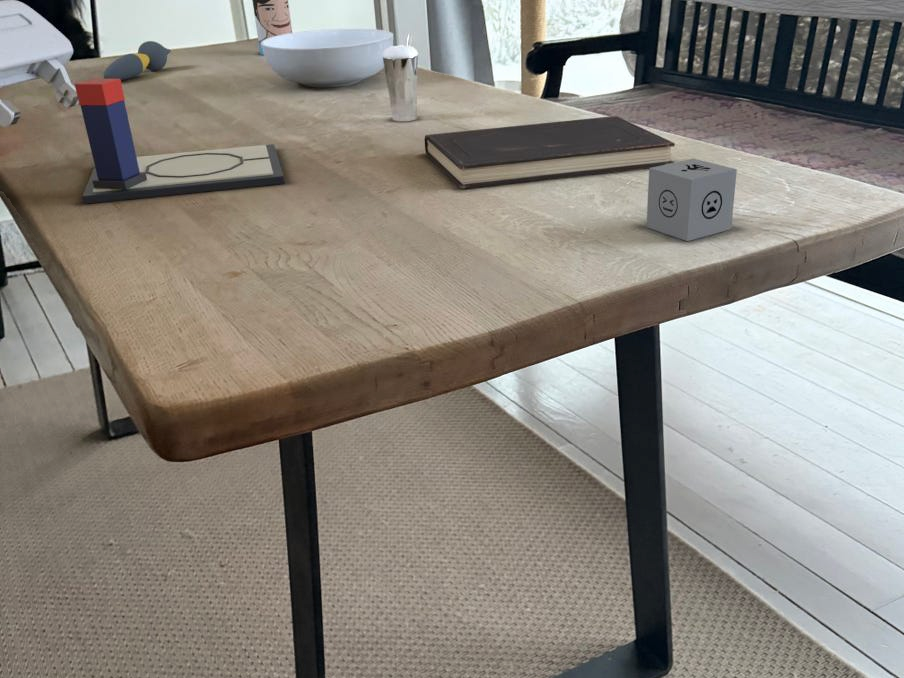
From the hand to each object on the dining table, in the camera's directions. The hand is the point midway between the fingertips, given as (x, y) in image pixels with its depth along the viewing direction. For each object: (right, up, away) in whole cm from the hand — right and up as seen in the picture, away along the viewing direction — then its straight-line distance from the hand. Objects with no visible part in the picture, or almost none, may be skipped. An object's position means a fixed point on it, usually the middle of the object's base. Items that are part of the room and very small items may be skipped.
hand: (45, 111), depth 96 cm
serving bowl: (+20, +25, +58) cm, 67 cm away
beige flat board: (+12, -4, +8) cm, 15 cm away
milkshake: (+34, +10, +31) cm, 47 cm away
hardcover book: (+51, -3, +8) cm, 51 cm away
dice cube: (+61, -15, -15) cm, 65 cm away
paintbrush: (-16, +32, +73) cm, 82 cm away
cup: (+4, +44, +93) cm, 103 cm away
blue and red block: (+7, -7, +2) cm, 10 cm away
